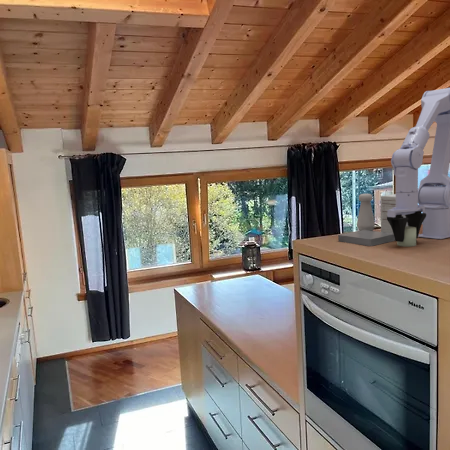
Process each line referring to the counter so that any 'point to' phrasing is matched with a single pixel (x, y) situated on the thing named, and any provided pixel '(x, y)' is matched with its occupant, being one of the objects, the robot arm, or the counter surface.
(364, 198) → the salt shaker
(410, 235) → the green cylinder
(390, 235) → the slate base
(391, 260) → the counter surface
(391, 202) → the supplement box
